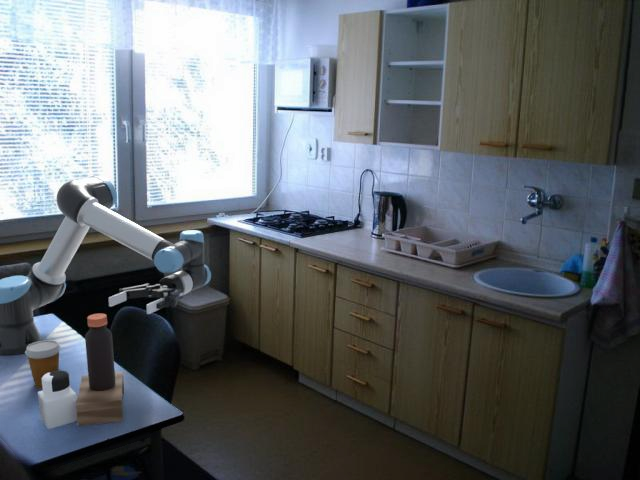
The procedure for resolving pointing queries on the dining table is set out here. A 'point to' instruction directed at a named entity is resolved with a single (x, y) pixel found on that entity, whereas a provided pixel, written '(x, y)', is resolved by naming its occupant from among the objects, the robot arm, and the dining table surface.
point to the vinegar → (99, 353)
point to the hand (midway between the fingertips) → (128, 305)
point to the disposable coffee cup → (43, 359)
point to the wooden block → (100, 403)
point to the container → (57, 400)
